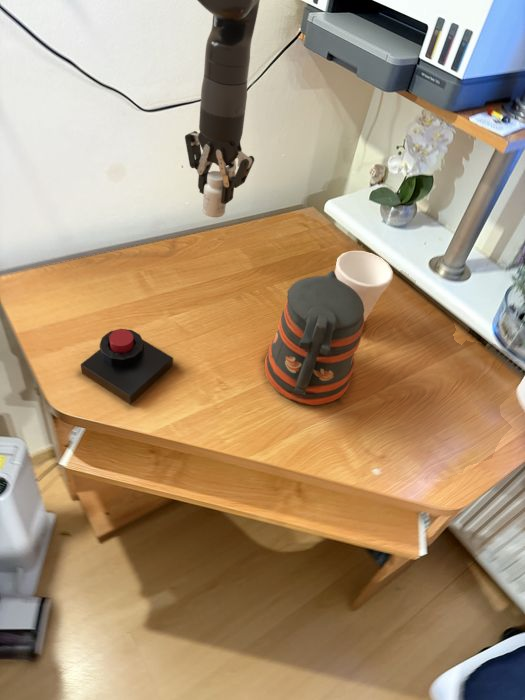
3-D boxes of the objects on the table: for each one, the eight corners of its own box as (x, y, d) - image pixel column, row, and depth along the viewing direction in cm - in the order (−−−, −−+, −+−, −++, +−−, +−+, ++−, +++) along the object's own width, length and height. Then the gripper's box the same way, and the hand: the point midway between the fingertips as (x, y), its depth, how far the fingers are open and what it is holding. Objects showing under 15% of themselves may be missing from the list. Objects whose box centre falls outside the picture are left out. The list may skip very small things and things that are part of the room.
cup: (368, 308, 102) (389, 253, 92) (374, 344, 95) (397, 289, 85) (318, 301, 101) (334, 246, 91) (321, 338, 94) (338, 282, 84)
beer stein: (344, 438, 79) (384, 350, 65) (251, 417, 80) (270, 324, 65) (351, 352, 92) (386, 262, 78) (271, 334, 93) (291, 241, 78)
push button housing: (80, 372, 81) (77, 355, 78) (125, 337, 87) (123, 320, 84) (130, 405, 78) (129, 388, 75) (173, 366, 84) (173, 350, 81)
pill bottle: (226, 208, 102) (230, 171, 97) (222, 220, 99) (227, 183, 94) (204, 204, 102) (207, 167, 96) (200, 215, 99) (203, 178, 93)
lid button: (105, 346, 80) (104, 338, 79) (121, 333, 83) (120, 326, 82) (122, 357, 79) (122, 349, 78) (138, 344, 82) (138, 336, 81)
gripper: (270, 114, 86) (256, 204, 99) (202, 86, 90) (196, 176, 103) (246, 126, 82) (234, 220, 94) (175, 96, 86) (172, 189, 98)
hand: (214, 196), depth 98 cm, fingers closed on pill bottle, 4 cm apart
